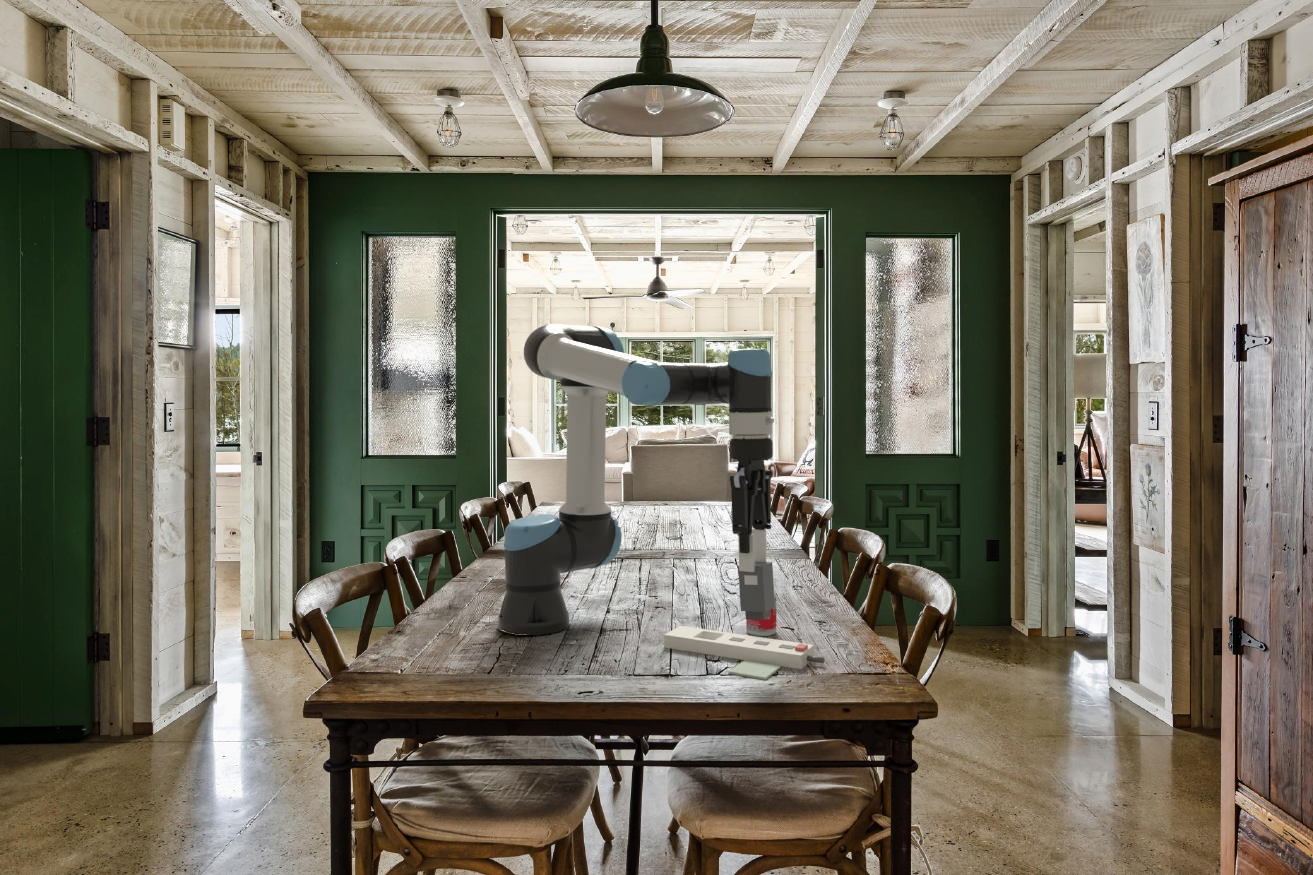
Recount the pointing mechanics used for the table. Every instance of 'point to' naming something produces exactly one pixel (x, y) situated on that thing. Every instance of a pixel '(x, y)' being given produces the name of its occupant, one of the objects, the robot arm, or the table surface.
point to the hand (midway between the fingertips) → (752, 568)
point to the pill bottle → (763, 624)
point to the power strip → (741, 647)
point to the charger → (757, 591)
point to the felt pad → (754, 669)
